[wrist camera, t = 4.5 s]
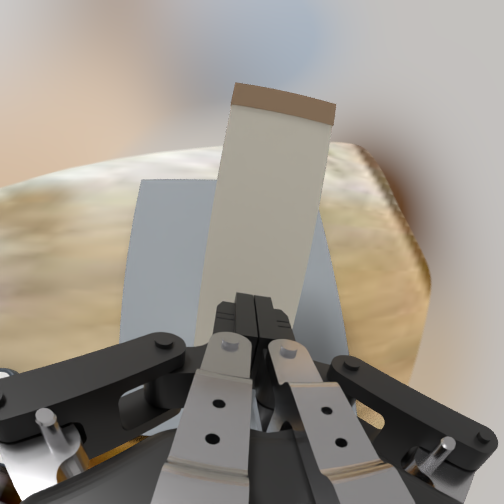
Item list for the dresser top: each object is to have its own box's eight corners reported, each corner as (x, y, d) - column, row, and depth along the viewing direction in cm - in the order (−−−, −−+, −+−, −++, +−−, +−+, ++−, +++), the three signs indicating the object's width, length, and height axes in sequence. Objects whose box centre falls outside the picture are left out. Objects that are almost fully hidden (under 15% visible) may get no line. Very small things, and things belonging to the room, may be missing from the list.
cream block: (280, 377, 15) (336, 104, 13) (190, 366, 15) (235, 82, 12) (270, 337, 20) (311, 126, 18) (200, 327, 20) (235, 111, 17)
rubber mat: (122, 432, 15) (120, 432, 15) (142, 183, 26) (141, 179, 26) (353, 416, 18) (357, 416, 18) (310, 189, 29) (312, 185, 29)
